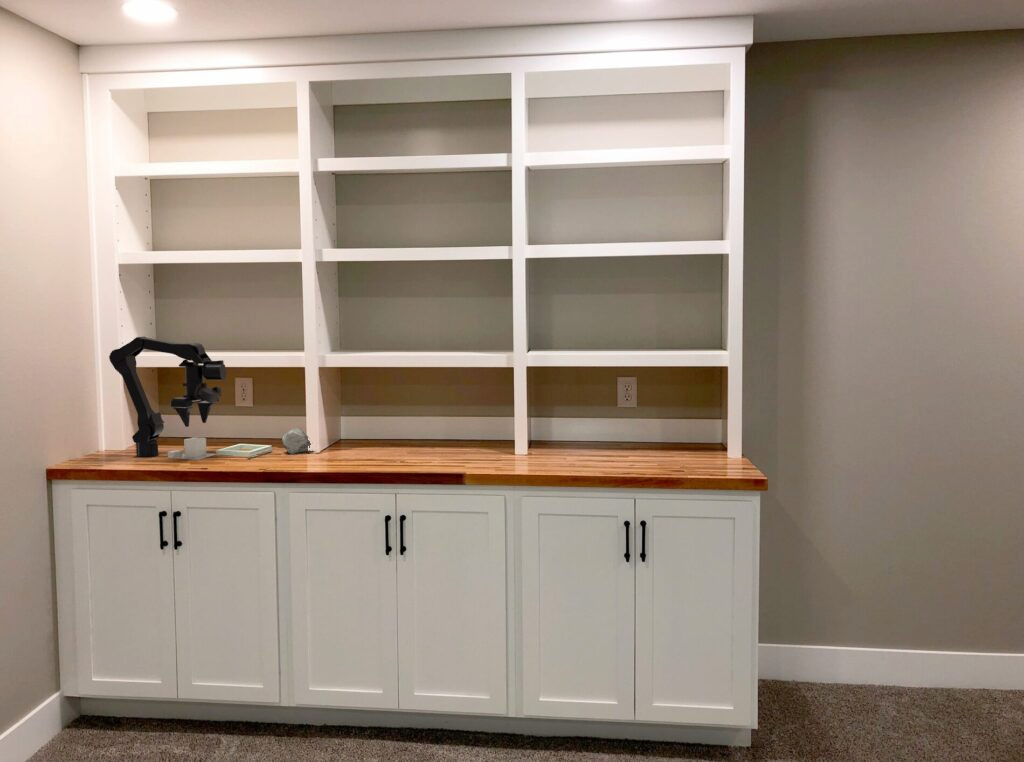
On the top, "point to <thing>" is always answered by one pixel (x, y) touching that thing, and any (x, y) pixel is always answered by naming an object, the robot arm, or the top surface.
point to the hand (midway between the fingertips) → (195, 424)
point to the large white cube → (195, 447)
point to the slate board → (179, 455)
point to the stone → (296, 441)
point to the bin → (254, 451)
